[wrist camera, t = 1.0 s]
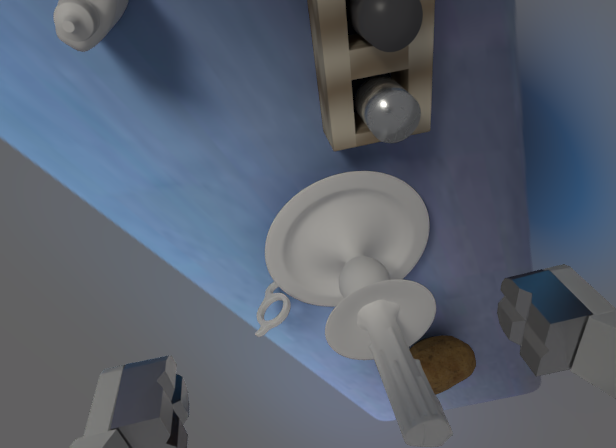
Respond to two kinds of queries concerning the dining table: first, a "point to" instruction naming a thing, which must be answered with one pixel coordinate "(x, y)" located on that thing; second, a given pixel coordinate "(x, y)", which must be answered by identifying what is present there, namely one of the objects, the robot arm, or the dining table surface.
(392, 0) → the black knob middle
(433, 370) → the potato
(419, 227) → the candlestick
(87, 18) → the eye dropper bottle
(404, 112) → the steel knob
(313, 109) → the dining table surface
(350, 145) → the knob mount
